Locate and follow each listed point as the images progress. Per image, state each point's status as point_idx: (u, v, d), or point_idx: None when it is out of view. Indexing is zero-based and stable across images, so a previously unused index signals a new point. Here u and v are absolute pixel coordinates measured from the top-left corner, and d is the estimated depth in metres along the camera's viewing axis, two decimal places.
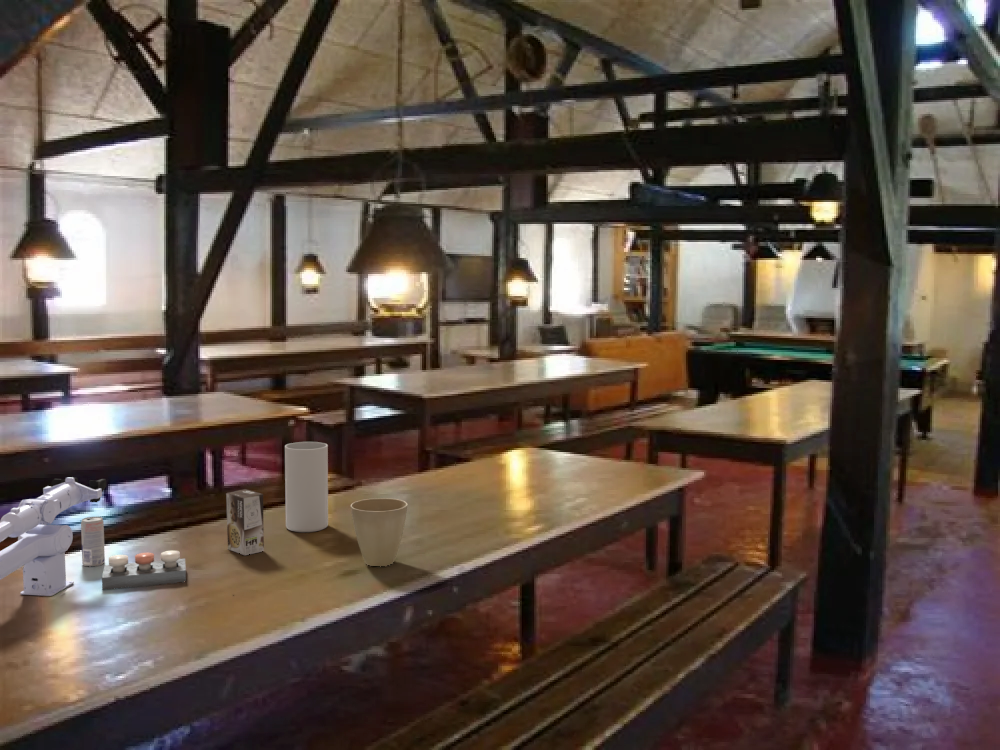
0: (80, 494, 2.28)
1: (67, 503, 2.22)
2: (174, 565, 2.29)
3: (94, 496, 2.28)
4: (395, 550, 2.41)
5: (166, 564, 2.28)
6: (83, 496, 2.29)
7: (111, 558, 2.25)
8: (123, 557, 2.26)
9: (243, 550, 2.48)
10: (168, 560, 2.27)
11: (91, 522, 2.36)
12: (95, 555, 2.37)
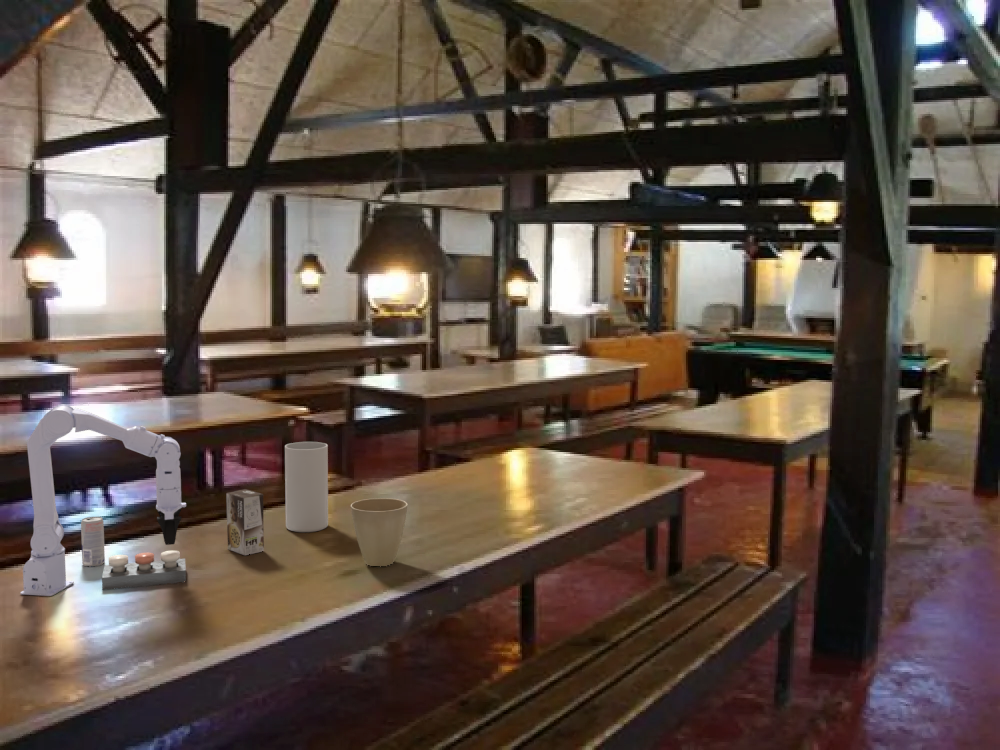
0: (168, 506, 2.25)
1: (166, 484, 2.25)
2: (174, 565, 2.29)
3: None
4: (395, 550, 2.41)
5: (166, 564, 2.28)
6: None
7: (111, 558, 2.25)
8: (123, 557, 2.26)
9: (243, 550, 2.48)
10: (168, 560, 2.27)
11: (91, 522, 2.36)
12: (95, 555, 2.37)
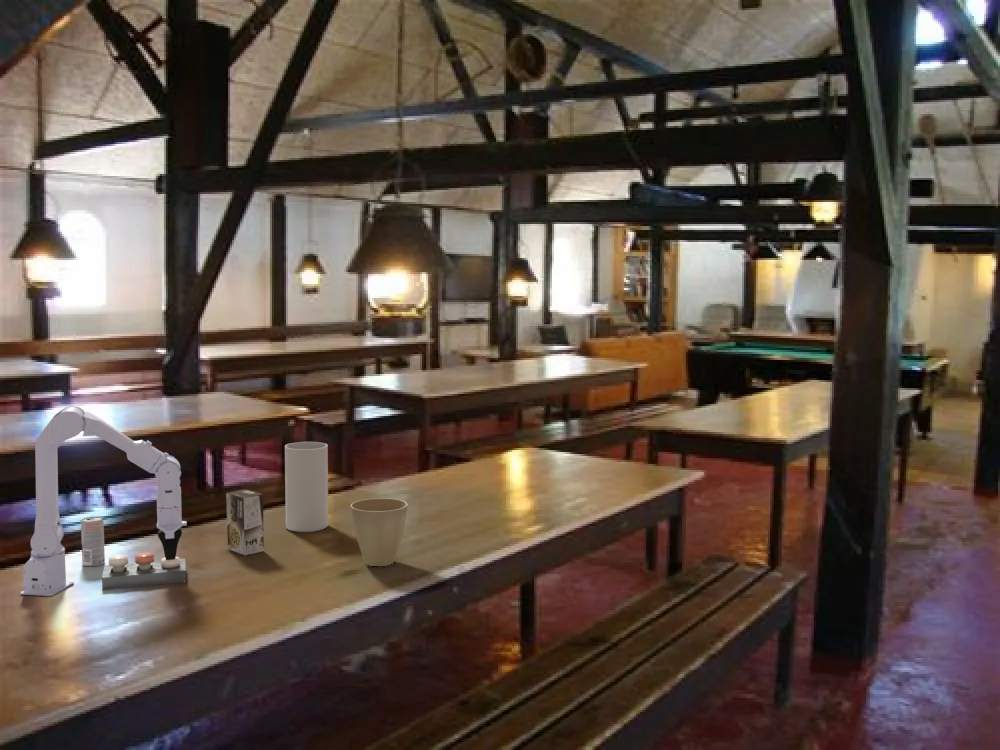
0: (169, 524, 2.26)
1: (166, 503, 2.25)
2: None
3: (166, 531, 2.23)
4: (395, 550, 2.41)
5: None
6: None
7: (111, 558, 2.25)
8: (123, 557, 2.26)
9: (243, 550, 2.48)
10: (168, 566, 2.28)
11: (91, 522, 2.36)
12: (95, 555, 2.37)
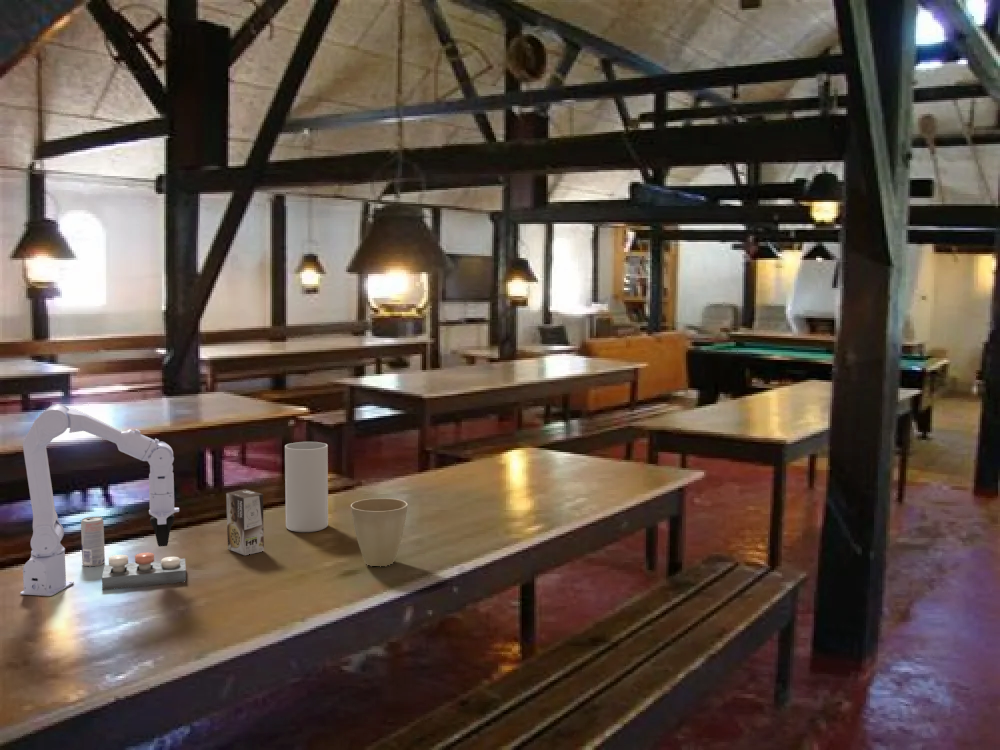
0: (161, 511, 2.25)
1: (159, 489, 2.24)
2: None
3: None
4: (395, 550, 2.41)
5: None
6: None
7: (111, 558, 2.25)
8: (123, 557, 2.26)
9: (243, 550, 2.48)
10: (168, 566, 2.28)
11: (91, 522, 2.36)
12: (95, 555, 2.37)
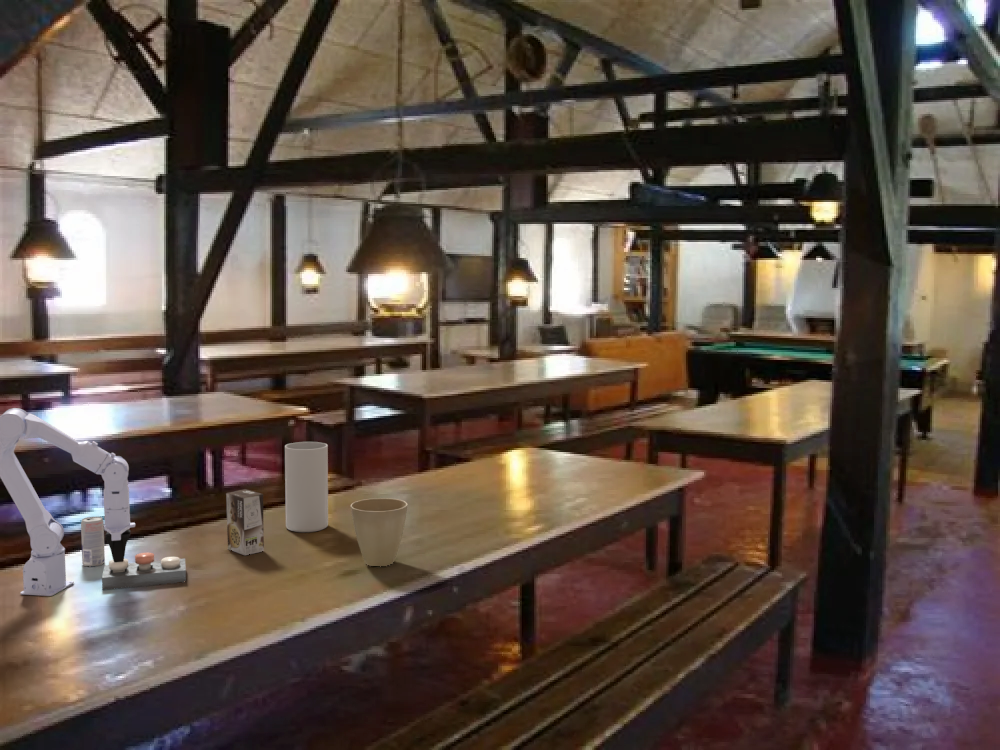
0: (116, 526, 2.22)
1: (113, 504, 2.21)
2: None
3: (113, 533, 2.19)
4: (395, 550, 2.41)
5: None
6: (112, 530, 2.21)
7: (111, 562, 2.25)
8: (123, 560, 2.26)
9: (243, 550, 2.48)
10: (168, 566, 2.28)
11: (91, 522, 2.36)
12: (95, 555, 2.37)
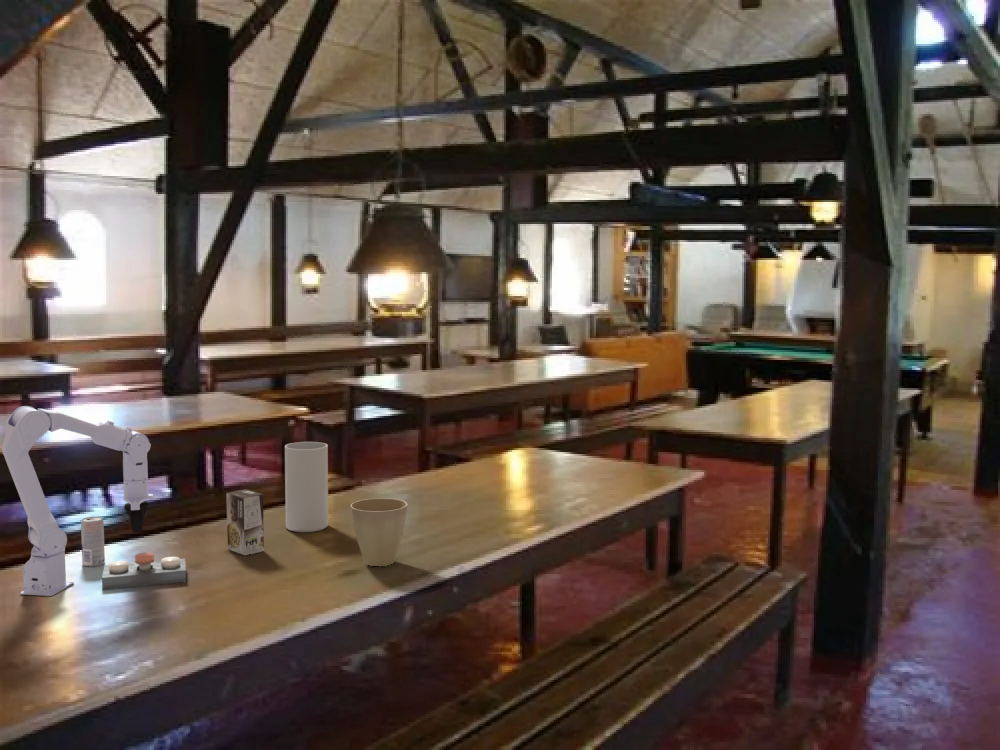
0: (135, 497, 2.30)
1: (137, 475, 2.30)
2: None
3: (132, 503, 2.27)
4: (395, 550, 2.41)
5: None
6: None
7: (111, 564, 2.25)
8: (123, 563, 2.26)
9: (243, 550, 2.48)
10: (168, 566, 2.28)
11: (91, 522, 2.36)
12: (95, 555, 2.37)
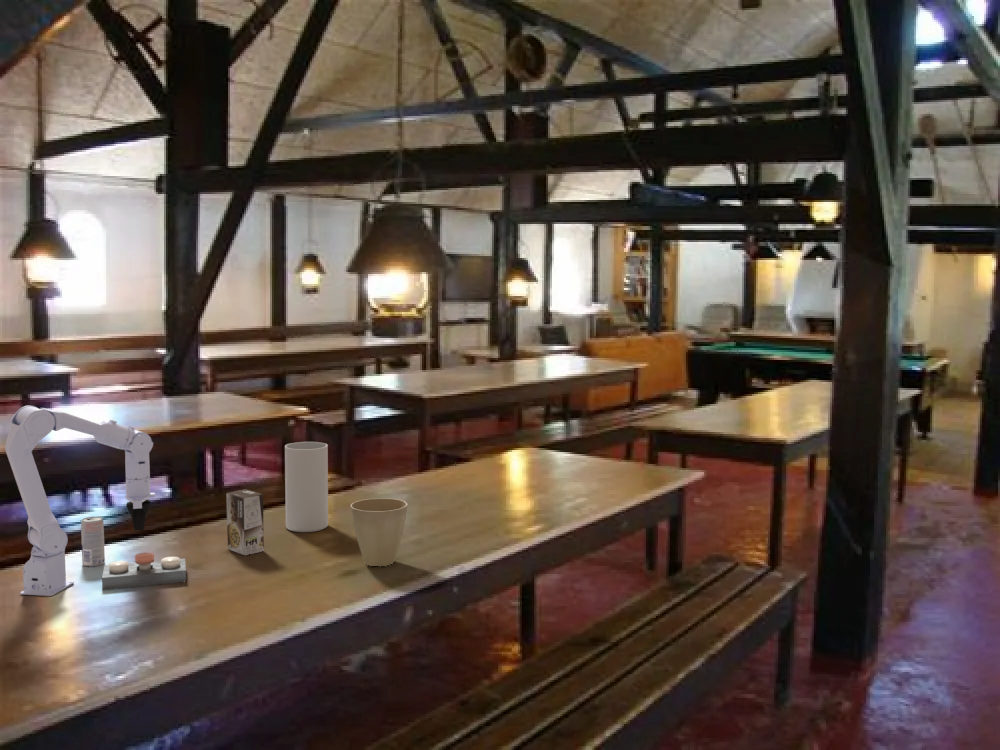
0: (137, 495, 2.31)
1: (140, 474, 2.31)
2: None
3: None
4: (395, 550, 2.41)
5: None
6: (134, 499, 2.31)
7: (111, 564, 2.25)
8: (123, 563, 2.26)
9: (243, 550, 2.48)
10: (168, 566, 2.28)
11: (91, 522, 2.36)
12: (95, 555, 2.37)
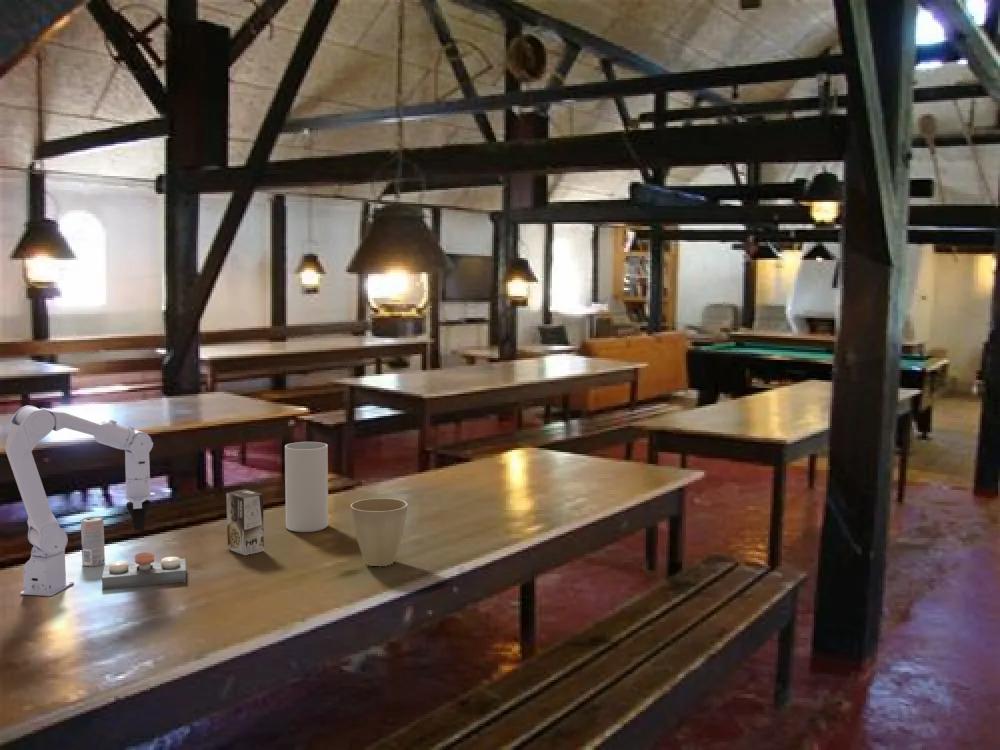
0: (137, 495, 2.31)
1: (140, 474, 2.31)
2: None
3: None
4: (395, 550, 2.41)
5: None
6: (134, 499, 2.31)
7: (111, 564, 2.25)
8: (123, 563, 2.26)
9: (243, 550, 2.48)
10: (168, 566, 2.28)
11: (91, 522, 2.36)
12: (95, 555, 2.37)
